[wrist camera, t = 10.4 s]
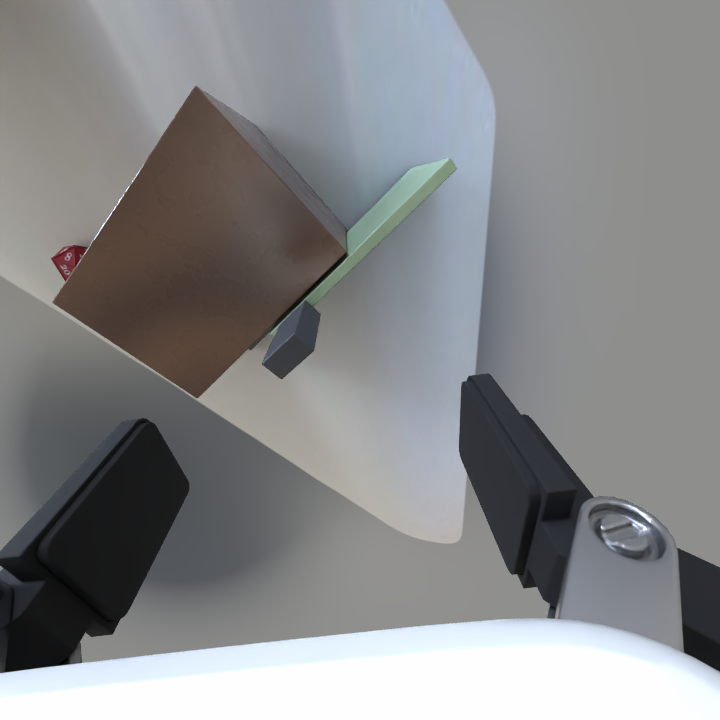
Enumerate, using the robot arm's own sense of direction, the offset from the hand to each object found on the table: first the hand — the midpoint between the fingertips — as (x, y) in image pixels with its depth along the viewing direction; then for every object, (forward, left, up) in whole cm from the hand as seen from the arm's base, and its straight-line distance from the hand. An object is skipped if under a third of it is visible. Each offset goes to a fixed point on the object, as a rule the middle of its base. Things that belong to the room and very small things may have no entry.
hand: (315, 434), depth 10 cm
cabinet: (-6, -1, -28) cm, 29 cm away
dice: (-17, -19, -28) cm, 38 cm away
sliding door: (0, +2, -28) cm, 28 cm away
